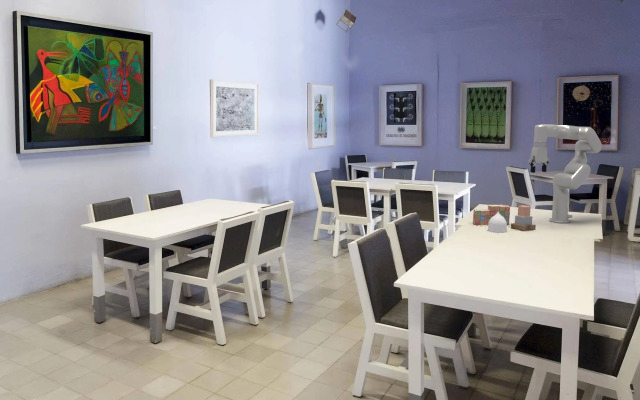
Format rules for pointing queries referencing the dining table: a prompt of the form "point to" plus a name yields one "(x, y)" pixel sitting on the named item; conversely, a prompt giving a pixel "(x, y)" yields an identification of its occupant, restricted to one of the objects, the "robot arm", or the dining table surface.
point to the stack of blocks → (490, 214)
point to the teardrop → (497, 224)
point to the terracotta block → (524, 211)
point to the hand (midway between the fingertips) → (538, 172)
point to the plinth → (523, 227)
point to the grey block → (523, 220)
